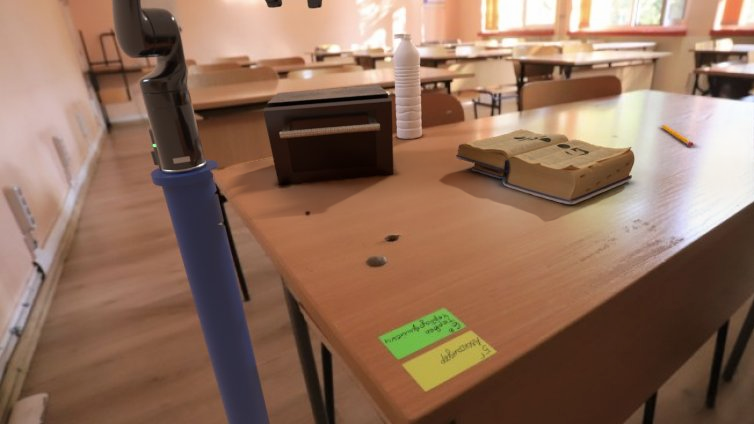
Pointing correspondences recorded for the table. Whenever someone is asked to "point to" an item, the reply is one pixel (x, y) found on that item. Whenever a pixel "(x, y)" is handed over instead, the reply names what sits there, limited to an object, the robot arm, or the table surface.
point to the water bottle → (407, 88)
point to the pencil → (677, 135)
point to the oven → (327, 96)
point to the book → (549, 164)
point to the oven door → (331, 140)
